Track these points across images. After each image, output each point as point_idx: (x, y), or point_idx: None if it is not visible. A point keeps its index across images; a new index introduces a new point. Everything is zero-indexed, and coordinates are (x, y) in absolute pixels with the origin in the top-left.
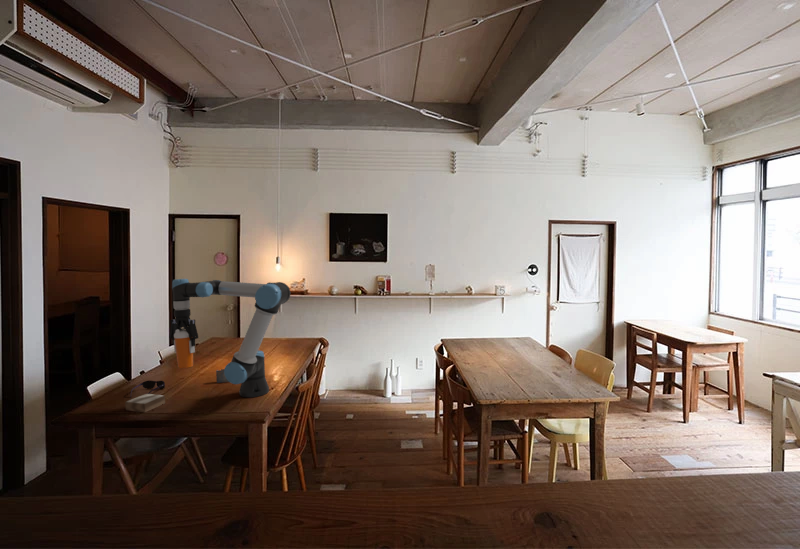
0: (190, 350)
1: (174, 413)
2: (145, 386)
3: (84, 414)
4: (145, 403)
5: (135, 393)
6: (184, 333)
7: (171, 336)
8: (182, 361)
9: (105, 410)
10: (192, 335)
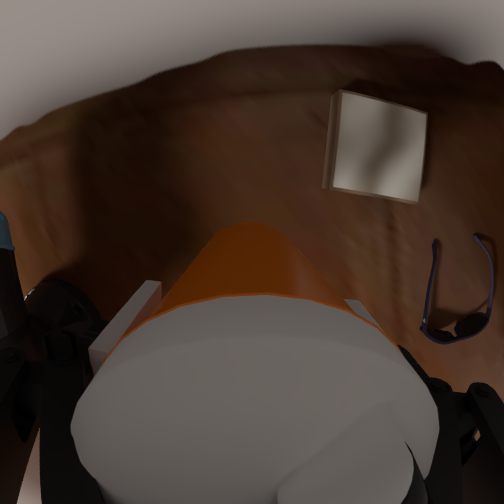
0: (141, 290)
1: (204, 97)
2: (476, 318)
3: (490, 93)
4: (341, 96)
5: (479, 273)
6: (98, 420)
7: (474, 404)
8: (230, 231)
9: (467, 119)
10: (4, 387)
